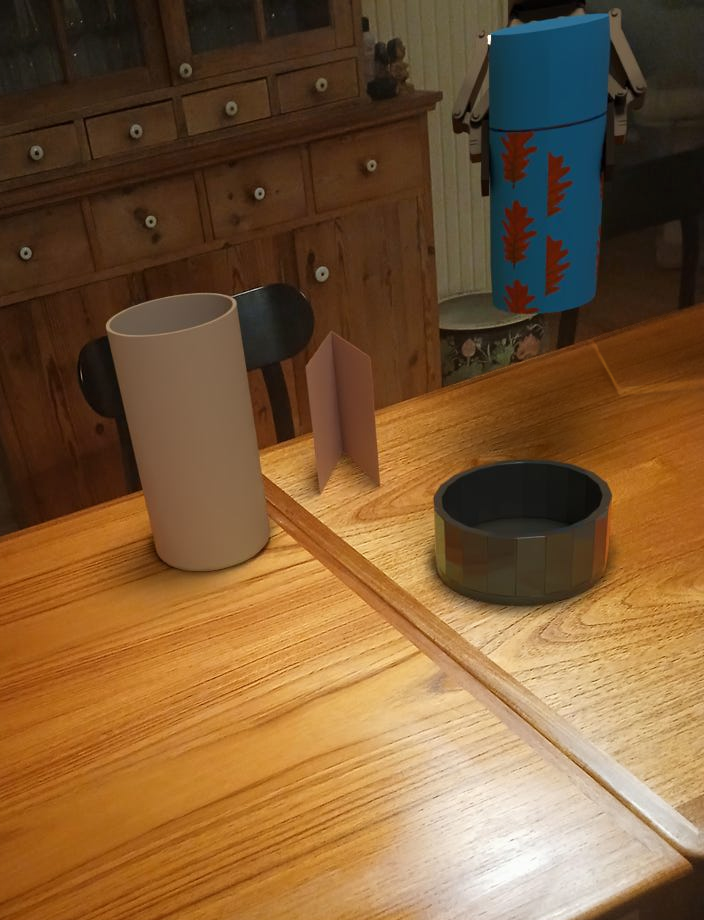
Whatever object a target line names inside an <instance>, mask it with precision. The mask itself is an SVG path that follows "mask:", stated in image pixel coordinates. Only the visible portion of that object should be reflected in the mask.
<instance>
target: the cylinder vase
mask: <svg viewBox="0 0 704 920" xmlns="http://www.w3.org/2000/svg"><path fill="white" fill-rule="evenodd" d="M240 324H241V323H240V317H239V311H238V304H237V300H236V299H235V298H233V297H232V296H230V295H227V294H224V293H223V294H222V293H213V292H197V293H194V292H193V293H183V294H178V295H171V296H166V297H161V298H157V299H153V300H148V301H144V302H142V303H139V304H136V305H133V306H130V307H128V308H126V309H124V310H121V311H119V312H117V313H116V314H115V315H113V316H112V317H110V318H109V319H108V320H107V322H106V324H105V329H106V333H107V338H108V343H109V347H110V353H111V356H112V361H113V364H114V370H115V374H116V379H117V382H118V383H117V384H118V387H119V391H120V395H121V400H122V405H123V409H124V414H125V417H126V418H125V419H126V423H127V426H128V431H129V436H130V440H131V445H132V449H133V453H134V458H135V461H136V462H135V463H136V467H137V471H138V475H139V479H140V483H141V484H140V485H141V488H142V493H143V497H144V502H145V506H146V507H145V508H146V511H147V515H148V520H149V524H150V529H151V533H152V537H153V542H154V547H155V550H156V553H157V555H158V557H159V558H160V560H161V561H163V562H164V563H165V564H166V565H168V566H170V567H172V568H175V569H178V570H182V571H188V572H211V571H212V572H213V571H219V570H222V569H228V568H231V567H234V566H237V565H239V564H242V563H243V562H246V561H247V560H249V559H252V558H253V557H254V556H256V555H257V554H258V553H260V552H261V551H262V550H263V549H264V548H265V546H266V545H267V543H268V542H269V540H270V535H271V525H270V519H269V510H268V507H267V506H268V504H267V499H266V492H265V485H264V479H263V471H262V466H261V459H260V452H259V444H258V437H257V431H256V424H255V418H254V410H253V405H252V404H253V403H252V399H251V392H250V383H249V378H248V372H247V365H246V364H247V363H246V357H245V350H244V344H243V338H242V331H241V325H240Z"/></svg>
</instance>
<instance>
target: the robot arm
mask: <svg viewBox="0 0 704 920" xmlns="http://www.w3.org/2000/svg"><path fill="white" fill-rule="evenodd" d="M587 7H588V4H587V0H507V24H506V26H505V28H508V27H512V26H517V25H522V24H526V23H532V22H537V21H543V20H549V19H555V18H562V17H569V16H577V15H586V14H589V12H588V8H587ZM607 14H608V15H609V20H610V36H611V39H610V59H609V62H610V63H611V65H612V67H613V70H614V72H615V74H616V77H617V79H618V81H619V82H618V81H617V80H616V79H615V78H614V77H613V76H612V74H610V72H609V78H608V98H607V111H606V114H607V117H606V134H605V154H604V176H603V184H604V183H612V182H613V179H614V171H615V165H616V153H615V150H616V147H615V146H623V145H624V144H625V141H626V138H627V132H628V131H627V130H628V122H627V121H628V120H627V119H628V115H627V114H628V113H629V112H630V111H632V110H633V111H640V110H641V109H642V108H644V105H645V100H646V96H647V90H648V84H647V82H646V79H645V77H644V75H643V73H642V70H641V69H640V66H639V64H638V61H637V60H636V58H635V55H634V54H633V53H634V52H633V51H632V48H631V46H630V44H629V42H628V40H627V38H626V35H625V33H624V31H623V29H622V10H621V9H620V8H618V7H613V8H611V9H610V10H608V13H607ZM490 39H491V34H489V33H488V31H487V30H486V29H480V30H478V31H477V32H476V33H475V51H474V54H473V56H472V59H471V61H470V64H469V67H468V69H467V72H466V75H465V77H464V80H463V82H462V85H461V87H460V90H459V92H458V95H457V98H456V100H455V103H454V105H453V108H452V110H451V114H450V115H451V121H452V122H451V125H452V132H453V134H456V135H460V134H463V133H466V134H468V135H469V149H468V150H469V151H468V152H469V160H470V163H471V164H478V163H479V164H480V194H481V195H480V196H481V198H484V197H490V147H489V128H490V127H489V87H488V88H487V90H486V91H485V92H484V94H483V96H482V97H481V98H480V100H479V101H478V103H477V104H476V101H477V99H478V96H479V94H480V92H481V88H482V86H483V83H484V80H485V78H486V76H487V73H488V71H489V49H490ZM475 104H476V106H475Z"/></svg>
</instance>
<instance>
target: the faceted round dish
mask: <svg viewBox="0 0 704 920" xmlns="http://www.w3.org/2000/svg"><path fill="white" fill-rule="evenodd" d="M432 500H433V501H432V506H433V507H432V508H433V528H434V532H433V533H434V553H435V566H436V572H437V574H438V576H439V578H440V579H441V581H442V582H443V581H444V582H445V583H446V584H447V585H446V584H445V583H444V584H445V585H446V586H447V587H449V588H450V587H451V588H452V589H451V588H450V589H451V590H453V589H454V590H455V591H454V590H453V591H454V592H456V591H457V592H456V593H458V592H459V593H458V594H460V593H461V594H460V595H462V594H463V595H462V596H464V595H465V596H464V597H466V596H467V598H469V597H470V598H469V599H472V598H473V599H472V600H474V599H475V601H478V600H480V601H479V602H482V603H485V604H491V603H492V605H499V606H507V605H513V606H512V607H527V606H526V605H531V606H538V605H537V604H541V605H546V603H547V604H552V603H551V602H553V603H555V602H554V601H557V602H560V601H559V600H561V601H563V600H562V599H565V600H567V599H566V598H568V599H570V597H571V598H574V597H576V596H579V595H580V594H582V593H584V592H586V591H587V590H589V589H591V588H592V587H593V586H595V584H597V583H598V582H599V581H600V579H602V576H603V575H604V574H605V572H606V569H607V565H608V563H607V562H608V555H609V551H610V550H609V549H610V535H611V523H612V522H611V519H612V505H613V494H612V490H611V488H610V485H609V484H608V482H607V481H606V480H604V479H603V478H602V477H600V476H599V475H598V474H597V473H595V472H593V471H590V470H589V469H586V468H585V467H584V468H583V467H581V466H579V465H576V464H573V463H568V462H563V461H557V460H552V459H538V458H537V459H536V458H535V459H534V458H533V459H532V458H518V459H517V458H516V459H507V460H498V461H492V462H489V463H483V464H480V465H475V466H473V467H471V468H467V469H466V470H463V471H461V472H458V473H456V474H454V475H452V476H451V477H449V478H448V479H446V480H445V481H444V482H443V483H442V484H439V486H438V488H437V490H436V492H435V494H434V495H433V497H432ZM575 595H576V596H575ZM544 603H545V604H544Z"/></svg>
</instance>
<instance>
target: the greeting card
mask: <svg viewBox="0 0 704 920" xmlns="http://www.w3.org/2000/svg"><path fill="white" fill-rule="evenodd" d="M305 376H306V385H307V394H308V402H309V403H308V404H309V411H310V418H311V419H310V420H311V429H312V435H313V447H314V455H315V456H314V457H315V462H316V471H317V480H318V481H317V482H318V488H319V489H318V490H319V495H321V494H322V492H323V491H324V489H325V487H326V486H327V485H326V484H327V483H328V481H329V479H330V477H331V475H332V473H333V471H334V470H335V468H336V466H337V464H338V462H339V460H340V458H341V456H342V454H343V453H344V454H345V455H346V456H347V457H348V458H349V459H350V460H351V461H352V462H353V463H354V464H355V465H356V466H357V467H359V469H361V470H362V471H363V473H365V474H366V475H367V476H368V477H369V478H370V479H372V480H373V481H374V482H375V483H376V484H377V485H378V486H379V487H381V476H380V475H381V474H380V462H379V461H380V460H379V449H378V438H377V425H376V411H375V410H376V409H375V397H374V386H373V385H374V384H373V383H374V382H373V371H372V359H371V357H370V356H369V355H368V354H366V353H365V352H363V351H361V350H360V349H359V348H357V347H356V346H354V345H353V344H352V343H350V342H349V341H347V340H345V339H344V338H342V337H341V336H339V335H338V334H337V333H335V332H334V331H333V330H330V331H329V333H328V334H327V336H326V338H324V340H323V341H322V342H321V344H320V345H319V347H318V348H317V350H316V351H315V352H314V354H313V356H312V357H311V358H310V359H309V361H308V363H307V364H306V366H305ZM342 452H343V453H342Z"/></svg>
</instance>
